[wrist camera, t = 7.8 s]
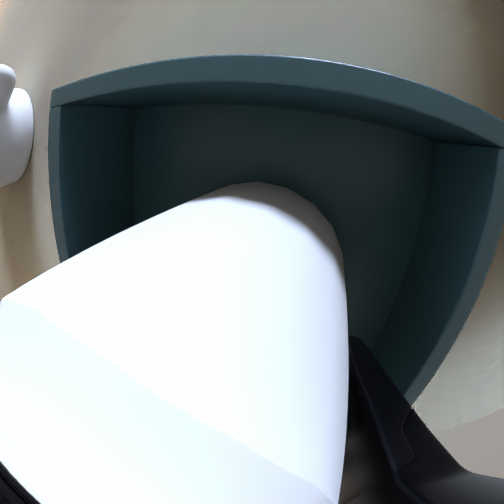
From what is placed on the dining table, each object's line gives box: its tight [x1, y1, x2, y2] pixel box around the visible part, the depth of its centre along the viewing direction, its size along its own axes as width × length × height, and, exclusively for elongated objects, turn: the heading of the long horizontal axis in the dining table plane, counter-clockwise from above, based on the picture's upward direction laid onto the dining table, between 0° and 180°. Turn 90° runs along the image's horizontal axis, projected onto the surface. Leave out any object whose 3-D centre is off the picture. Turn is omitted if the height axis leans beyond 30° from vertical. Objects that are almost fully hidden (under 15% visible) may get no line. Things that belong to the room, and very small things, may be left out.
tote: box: [48, 54, 504, 406], centre depth 11 cm, size 16×16×6 cm
